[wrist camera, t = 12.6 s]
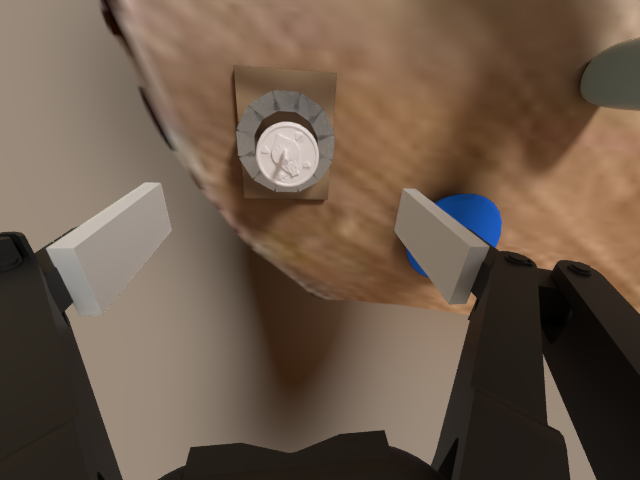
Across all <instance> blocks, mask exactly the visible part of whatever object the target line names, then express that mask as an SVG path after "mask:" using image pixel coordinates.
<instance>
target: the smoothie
mask: <svg viewBox="0 0 640 480" xmlns="http://www.w3.org/2000/svg"><path fill="white" fill-rule="evenodd" d="M256 160H257V164H258V167H259V169H260V171H261V172H262V174H263V175H264V176H265V177H266V178H267V179H268V180H269V181H271V182H272V183H274V184H276V185H279V186H282V187H295V186H298V185H301V184H303V183H305V182H306V181H307V180H309V179H310V178H311V177H312V175H313V174H314V172H315V171H316V168H317V166H318V161H319V151H318V146H317V143H316V141H315V139H314V137H313V135H312V134H311V133H310V132H309V131H308V130H307V129H306V128H304V127H303V126H301V125H300V124H296V123H293V122H280V123H276V124H274V125H272V126H270V127H269V128H267V129H266V130H265V131H264V132H263V134H262V135H261V137H260V139H259V141H258V143H257V149H256Z"/></svg>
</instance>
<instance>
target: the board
mask: <svg viewBox="0 0 640 480" xmlns="http://www.w3.org/2000/svg"><path fill="white" fill-rule="evenodd" d="M234 77H235V89H236V102H237V114H238V125H239V123H240V121H241V118H242V116H243V114H244V112H245V110H246V108H247V106H248V105H250V103H252V102H253V101H255V100H257V99H259V98H260V97H262V96H264V95H265V94H267V93H269V92H270V91H273V93H274V90H278V91H293V92H299V94H300V93H302V94H304V95H305V96H306V97H308V98H309V99H311V100H312V101H313V102H315V103H316V104H317V105H319V106H320V107H322V109H323V110H324V111H325V113H326V115H327V118H328V120H329V122H330V124H331V127H332V129H333V120H334V106H335V93H336V80H337V73H331V72H318V71H304V70H291V69H278V68H264V67H251V66H237V65H234ZM280 122H293V123H296V124H300V125H301V126H303V127H304V128H306V129H307V130H308V131H309V132H310V133H311V134H312V135H313V137H314V139H315V132H314V130H313V128H312V126H311V124H310V122H309V121H308V120H306V119H305V118H304V117H302V116H301V115H299V114H298V113H296V112H289V111H276V112H275V113H273V114H271V115H270V116H268V117H266V118H264V119H263V121H262V123H261V125H260V127H259V128H258V130H257V142H258V141H259V139H260V137H261V135H262V134H263V132H264V131H265V130H266V129H267V128H269V127H270V126H272V125H274V124H276V123H280ZM241 164H242V162H241ZM329 173H330V166H329V167H328V169H327V170H326V172H325V173H324V175H323V176H322V178H321V180H319V179H318V182H317V183H315V184H313V185H311V186H309V187H307V188H305V189H304V190H302V191H300V192H299V190H298V189H297V192H276V188H275V190H274V191H273V190H271V189H269V188H267V187H265V186H264V185H262V184H260V183H258V182H256V181H255V180H254V178H255V177H254V178H252V177H251V176H250V174H249V173H248V171H247V170H246V168H245V167H244V165H243V164H242V177H243V189H244V198H264V199H323V200H328V187H329Z"/></svg>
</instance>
